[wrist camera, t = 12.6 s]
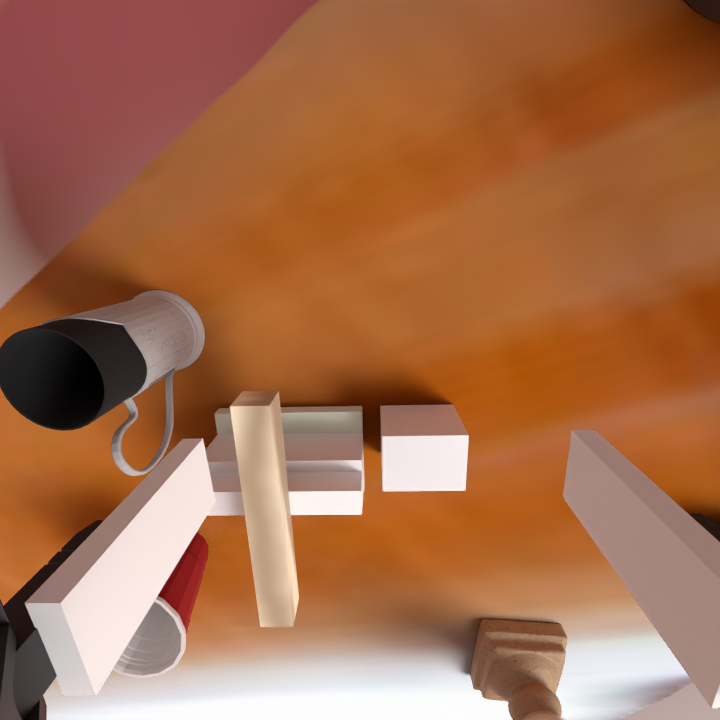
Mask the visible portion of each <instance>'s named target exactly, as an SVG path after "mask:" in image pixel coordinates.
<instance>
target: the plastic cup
mask: <svg viewBox="0 0 720 720" xmlns="http://www.w3.org/2000/svg"><path fill="white" fill-rule="evenodd" d="M207 558H208V545H207V543H206V541H205V539H204V538H203V537H202V536H200V535H199V534H198V533H196V534H195V536H194V537H193V539H192V540H191V542H190V544H189V545H188V547H187V549H186V550H185V552H184V553H183V555H182V557H181V558H180V560H179V562H178V563H177V565H176V567H175V568H174V570H173V571H172V573H171V575H170V576H169V578H168V580H167V581H166V583H165V584H164V586H163V588H162V589H161V591H160V593H159V594H158V596H157V598H156V599H155V601H154V602H153V604H152V606H151V607H150V609H149V611H148V612H147V614H146V615H145V617H144V619H143V620H142V622H141V624H140V625H139V627H138V629H137V630H136V632H135V633H134V635H133V637H132V638H131V640H130V642H129V643H128V645H127V646H126V648H125V650H124V651H123V653H122V655H121V656H120V658H119V660H118V661H117V663H116V664H115V666H114V668H113V669H112V670H114V671H116V672H118V673H120V674H122V675H127V676H133V677H139V678H146V677H152V676H159V675H162V674H164V673H165V672H167V671H169V670H170V669H172V668H174V667H175V666H176V665H177V663H178V662H179V660H180V658H181V657H182V655H183V653H184V651H185V647H186V634H187V628H188V625H189V622H190V616H191V613H192V610H193V607H194V603H195V600H196V597H197V594H198V590H199V587H200V584H201V581H202V577H203V571H204V568H205V565H206V562H207Z"/></svg>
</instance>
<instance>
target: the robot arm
mask: <svg viewBox="0 0 720 720" xmlns="http://www.w3.org/2000/svg"><path fill="white" fill-rule="evenodd" d="M686 2H687V3H688V4H689V5H690V6H691V7H692V8H693V9H695V10H696V11H697V12H698V13H700V14H701V15H703V16H705V17H706V18H708V19H711V20H713V21H716V22H719V23H720V0H686ZM563 498H564V499H565V501H566V502H567V504H568V505H569V507H570V508H571V509H572V511H573V512H574V514H575V515H576V516H577V518H578V519H579V521H580V522H581V524H582V525H583V526H584V528H585V529H586V531H587V532H588V533H589V535H590V536H591V538H592V539H593V541H594V542H595V543H596V545H597V546H598V548H599V549H600V551H601V552H602V553H603V555H604V556H605V558H606V559H607V560H608V562H609V563H610V565H611V566H612V568H613V569H614V570H615V572H616V573H617V575H618V576H619V577H620V579H621V580H622V582H623V583H624V585H625V586H626V587H627V589H628V590H629V592H630V593H631V594H632V596H633V597H634V599H635V600H636V602H637V603H638V604H639V606H640V607H641V609H642V610H643V612H644V613H645V614H646V616H647V617H648V619H649V620H650V621H651V623H652V624H653V626H654V627H655V629H656V630H657V631H658V633H659V634H660V636H661V637H662V638H663V640H664V641H665V643H666V644H667V646H668V647H669V648H670V650H671V651H672V653H673V654H674V655H675V657H676V658H677V660H678V661H679V663H680V664H681V665H682V667H683V668H684V670H685V671H686V673H687V674H688V675H689V677H690V678H691V680H692V681H693V682H694V684H695V685H696V687H697V688H698V690H699V691H700V692H701V694H702V695H703V697H704V698H705V699H706V701H707V702H708V704H709V705H710V706H711V708H720V525H719V524H717V523H715V522H714V521H712V520H710V519H708V518H706V517H705V516H703V515H701V514H688V513H687V512H686V511H685V510H683V509H682V508H681V507H680V506H679V505H678V504H677V503H676V502H675V501H673V500H672V499H671V498H670V497H669V496H668V495H667V494H666V493H665V492H663V491H662V490H661V489H660V488H659V487H658V486H657V485H656V484H654V483H653V482H652V481H651V480H650V479H649V478H648V477H647V476H646V475H644V474H643V473H642V472H641V471H640V470H639V469H638V468H637V467H636V466H634V465H633V464H632V463H631V462H630V461H629V460H628V459H627V458H626V457H624V456H623V455H622V454H621V453H620V452H619V451H618V450H617V449H616V448H614V447H613V446H612V445H611V444H610V443H609V442H608V441H607V440H606V439H604V438H603V437H602V436H601V435H600V434H599V433H598V432H597V431H595V430H572V433H571V441H570V448H569V456H568V463H567V471H566V478H565V486H564V493H563ZM214 503H215V497H214V492H213V487H212V481H211V476H210V471H209V466H208V461H207V456H206V451H205V446H204V441H203V438H198V439H182V440H181V441H180V442H179V443H178V444H177V445H176V446H175V447H174V448H173V449H172V451H171V452H170V453H169V454H168V455H167V456H166V457H165V458H164V459H163V460H162V461H161V462H160V463H159V464H158V465H157V466H156V467H155V468H154V469H153V470H152V471H151V472H150V473H149V474H148V475H147V476H146V478H145V479H144V480H143V481H142V482H141V483H140V484H139V485H138V486H137V487H136V488H135V489H134V490H133V491H132V492H131V493H130V494H129V495H128V496H127V497H126V498H125V499H124V500H123V501H122V502H121V503H120V505H119V506H118V507H117V508H116V509H115V510H114V511H113V512H112V513H111V514H110V515H109V516H108V517H107V518H106V519H105V520H97V521H95V522H94V523H92V524H91V525H89V526H88V527H86V528H85V529H83V530H82V531H80V532H78V533H77V534H76V535H75V536H74V537H73V538H72V539H71V540H70V541H69V542H68V543H67V544H66V545H65V546H64V547H63V548H62V550H61V552H58V553H57V554H56V555H55V556H54V557H53V558H52V559H51V560H50V561H49V563H48V565H45V566H44V567H43V568H42V569H40V570H39V571H38V572H37V573H36V574H35V575H34V576H33V577H32V578H31V579H30V580H29V581H28V582H27V583H26V584H25V585H24V586H23V587H22V588H21V589H20V590H19V591H18V592H17V593H16V594H15V595H14V596H13V597H12V598H11V599H10V600H9V601H8V602H7V603H6V604H5V605H4V606H3V605H2V602H1V600H0V720H46V708H47V706H46V703H45V700H44V697H43V694H44V693H45V691H46V690H47V689H48V687H49V686H50V685H51V683H52V682H53V680H54V679H55V678H56V679H57V682H58V684H59V686H60V689H61V691H62V693H63V696H96V695H97V694H98V692H99V690H100V689H101V687H102V686H103V684H104V682H105V681H106V679H107V677H108V676H109V674H110V673H111V671H112V669H113V668H114V666H115V664H116V663H117V661H118V660H119V658H120V656H121V655H122V653H123V651H124V650H125V648H126V646H127V645H128V643H129V642H130V640H131V638H132V637H133V635H134V633H135V632H136V630H137V629H138V627H139V625H140V624H141V622H142V620H143V619H144V617H145V615H146V614H147V612H148V611H149V609H150V607H151V606H152V604H153V602H154V601H155V599H156V598H157V596H158V594H159V593H160V591H161V589H162V588H163V586H164V584H165V583H166V581H167V580H168V578H169V576H170V575H171V573H172V571H173V570H174V568H175V567H176V565H177V563H178V562H179V560H180V558H181V557H182V555H183V553H184V552H185V550H186V549H187V547H188V545H189V544H190V542H191V540H192V539H193V537H194V536H195V534H196V532H197V531H198V529H199V527H200V526H201V524H202V523H203V521H204V519H205V518H206V516H207V514H208V513H209V511H210V509H211V508H212V506H213V505H214Z"/></svg>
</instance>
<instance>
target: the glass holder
mask: <svg viewBox="0 0 720 720" xmlns="http://www.w3.org/2000/svg"><path fill="white" fill-rule="evenodd" d="M204 341H205V332H204V327H203V323H202V321H201V318H200V316H199V315H198V313H197V311H196V310H195V309H194V308H193V307H192V305H191V304H189V303H188V302H187V301H186V300H185V299H183V298H182V297H180V296H178V295H176V294H174V293H172V292H168V291H163V290H151V291H147V292H143V293H141V294H139V295H137V296H136V297H134V298H133V299H132V300H130V301H125V302H121V303H117V304H113V305H109V306H105V307H101V308H97V309H93V310H89V311H85V312H81V313H77V314H73V315H69V316H65V317H61V318H57V319H53V320H49V321H46V322H44V323H42V325H41V326H37V327H33V328H29V329H25V330H22V331H19V332H17V333H15V334H13V335H12V336H10V337H9V338H8V339H7V340H6V341H5V342H4V343H3V345H2V346H1V348H0V387H1V390H2V391H3V393H4V395H5V397H6V398H7V400H8V401H9V402H10V403H11V405H12V406H13V407H14V408H15V409H16V410H17V411H18V412H19V413H20V414H22V415H23V416H24V417H26V418H27V419H29V420H31V421H32V422H34V423H36V424H38V425H41V426H43V427H46V428H50V429H54V430H74V429H78V428H82V427H84V426H86V425H88V424H90V423H91V422H93V421H94V420H96V419H97V418H99V417H100V416H102V415H103V414H105V413H107V412H108V411H110V410H111V409H113V408H114V407H116V406H117V405H119V404H120V403H122V402H124V403H125V405H126V406H127V408H128V411H129V418H128V420H127V421H126V422H124V423H123V424H122V425H121V426H120V427H119V428H118V429H117V430H116V432H115V434H114V435H113V437H112V443H111V453H112V457H113V459H114V462H115V463H116V465H117V466H118V468H119V469H121V470H122V471H123V472H124V473H125V474H128V475H131V476H137V475H142V474H146V473H147V472H148V471H150V470H151V469H152V468H154V467H155V466H156V464H157V463H158V462H159V461H160V459H161V458H162V457H163V455H164V453H165V451H166V449H167V447H168V445H169V442H170V439H171V435H172V431H173V427H174V403H173V374H174V373H176V370H180V369H183V368H186V367H188V366H189V365H191V364H192V363H194V362H195V361H196V359H197V358H198V357H199V355H200V354H201V352H202V349H203V347H204ZM165 376H166V377H165ZM164 377H165V399H166V426H165V431H164V436H163V439H162V442H161V445H160V447H159V449H158V451H157V453H156V455H155V457H154V458H153V459H152V460H151V462H150V463H149V464H148V465H147V467H145V468H144V469H142V470H140V471H138V470H136V469H133V468H132V467H131V466H130V465H129V464H128V463H127V462H126V461H125V459H124V457H123V455H122V452H121V441H122V436H123V434H124V432H125V430H126V429H127V428H128V427H129V426H130V425H131V424H132V423H133V422H134V421H135V420H136V419H137V417H138V409H137V406H136V404H135V402H134V400H133V399H132V398H133V397H135V396H136V395H138V394H139V393H141V392H142V391H144V390H145V389H147V388H149V387H150V386H152V385H153V384H155V383H156V382H158V381H159V380H161V379H162V378H164Z"/></svg>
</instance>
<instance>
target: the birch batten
mask: <svg viewBox="0 0 720 720" xmlns="http://www.w3.org/2000/svg"><path fill="white" fill-rule="evenodd" d="M230 411H231V419H232V426H233V433H234V440H235V447H236V454H237V462H238V469H239V476H240V483H241V490H242V498H243V505H244V512H245V519H246V526H247V533H248V541H249V548H250V555H251V562H252V569H253V577H254V584H255V591H256V598H257V605H258V612H259V620H260V627H293V625H294V620H295V615H296V610H297V605H298V600H299V594H298V584H297V573H296V563H295V553H294V543H293V532H292V522H291V512H290V501H289V491H288V481H287V470H286V460H285V450H284V439H283V429H282V419H281V408H280V398H279V391H242V392H241V394H240V395H239V396H238V397H237V398H236V400H235V401H234V402H233V403H232V404H231V406H230Z"/></svg>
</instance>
